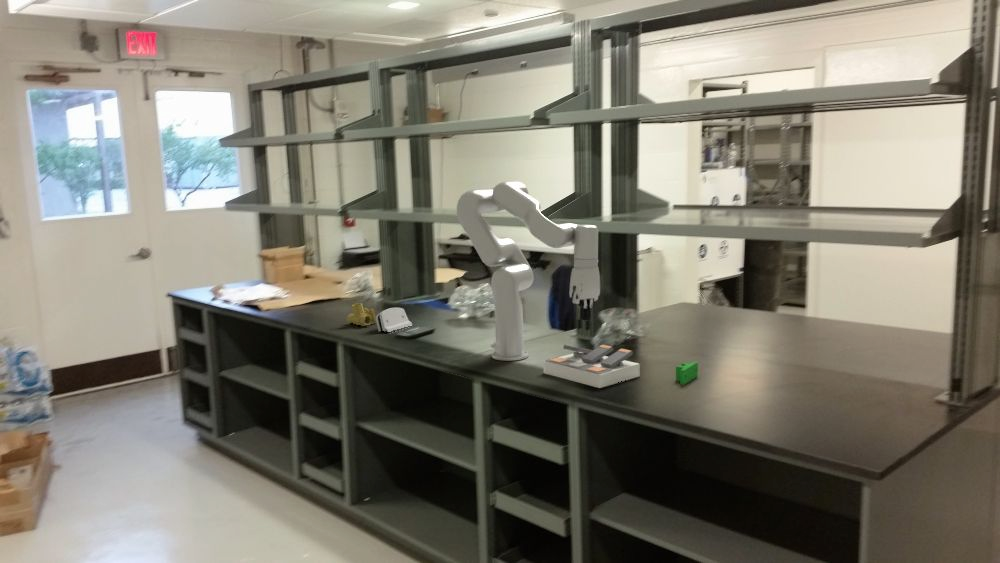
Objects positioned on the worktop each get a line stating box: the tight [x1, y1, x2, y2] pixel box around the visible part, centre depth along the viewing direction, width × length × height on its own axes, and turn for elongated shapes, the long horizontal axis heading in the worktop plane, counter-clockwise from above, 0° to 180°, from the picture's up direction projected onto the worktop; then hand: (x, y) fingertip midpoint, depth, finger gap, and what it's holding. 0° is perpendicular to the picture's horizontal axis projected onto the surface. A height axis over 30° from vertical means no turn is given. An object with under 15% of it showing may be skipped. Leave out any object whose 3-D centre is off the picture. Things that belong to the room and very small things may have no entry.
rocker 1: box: [563, 344, 594, 354], centre depth 245 cm, size 4×10×1 cm, turn 130°
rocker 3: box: [600, 348, 634, 368], centre depth 233 cm, size 4×10×1 cm, turn 130°
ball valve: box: [346, 302, 377, 326], centre depth 328 cm, size 13×10×10 cm
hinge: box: [375, 306, 413, 332], centre depth 317 cm, size 17×5×10 cm, turn 149°
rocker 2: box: [581, 344, 614, 364], centre depth 239 cm, size 4×10×1 cm, turn 130°
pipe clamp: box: [675, 361, 699, 386], centre depth 230 cm, size 11×4×5 cm, turn 145°
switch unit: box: [543, 351, 641, 389], centre depth 238 cm, size 24×18×5 cm
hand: (585, 319), depth 247 cm, fingers closed
